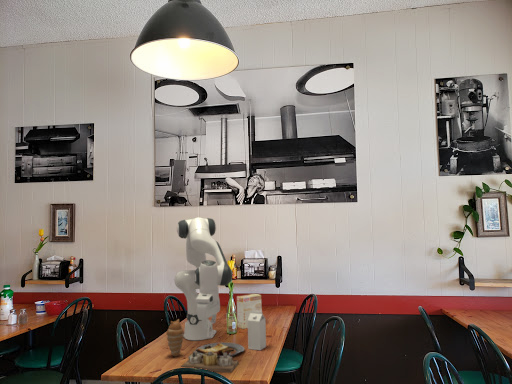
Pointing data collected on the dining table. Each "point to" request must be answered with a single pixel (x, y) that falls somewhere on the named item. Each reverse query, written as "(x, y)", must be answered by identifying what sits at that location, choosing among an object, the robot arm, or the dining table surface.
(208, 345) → the food plate
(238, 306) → the coffeecake box
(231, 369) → the gear board
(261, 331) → the milk carton
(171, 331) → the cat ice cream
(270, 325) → the dining table surface
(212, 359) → the brass gear
